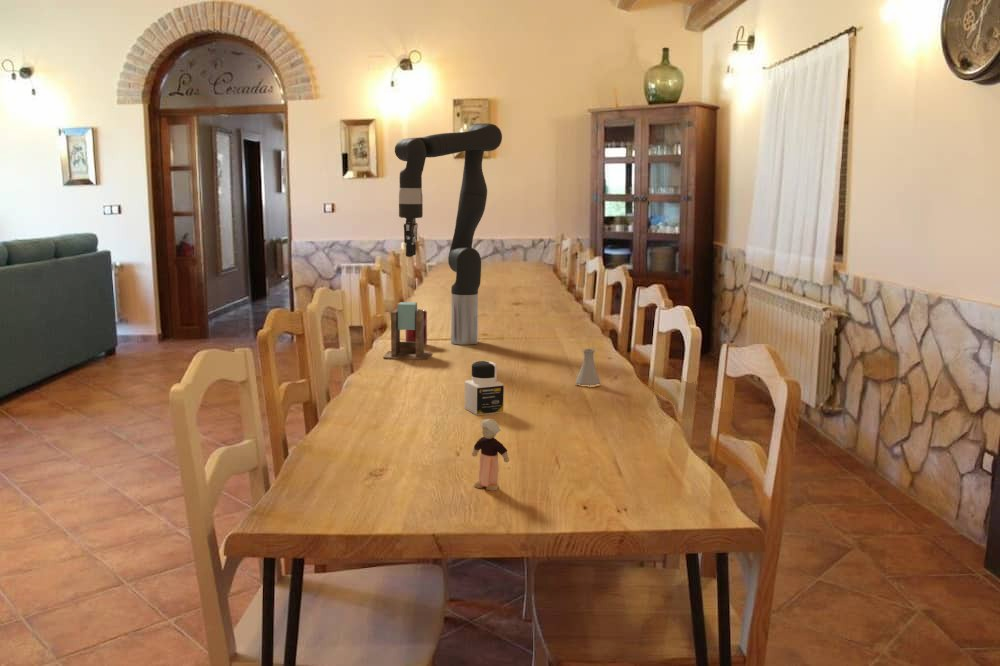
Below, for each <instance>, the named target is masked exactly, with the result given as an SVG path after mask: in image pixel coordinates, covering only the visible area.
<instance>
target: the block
mask: <svg viewBox="0 0 1000 666" xmlns="http://www.w3.org/2000/svg"><path fill="white" fill-rule="evenodd" d="M397 309H398V330H400V331H406V330H415V329H416V312H417V309H418V302H415V301H414V302H411V301H410V302H409V301H408V302H407V301H406V302H405V301H401V302H398V303H397Z"/></svg>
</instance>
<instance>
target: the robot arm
mask: <svg viewBox="0 0 1000 666" xmlns="http://www.w3.org/2000/svg"><path fill="white" fill-rule="evenodd" d="M502 141H503V133H502V131H501V129H500V128H499V127H498V126H497V125H495V124H493V123H486V122H485V123H484V122H483V123H482V122H481V123H473V124H472V125H470V126H469V127H468V129H467V131H461V132H460V131H459V132H443V133H437V134H436V133H435V134H430V135H426V136H422V137H421V136H420V137H411V138H409V137H408V138H402V139H400V140H399V141H398V142H396V145H395V146H394V154H395V156H396V157H397V159H398V160H400V161H403V162H406V163H405V165H406V166H405V167H404V168H403V169H402V170H400V172H399V189H398V192H399V193H398V216H399V217H398V218H401V219H402V218H403V219H405V223H403V233H404V234H403V236H404V238H403V239H404V240H403V242H404V245H405V256H406V257H407V258H409V257H410V258H412V257H414V256H416V255H417V253H416V251H417V250H416V249H417V246H416V245H417V241H418V228H419V224H418V222H417V220H416V219H420V218H421V219H422V218H423V209H424V208H423V205H424V204H423V202H424V200H423V189H422V187H423V185H422V184H423V180H422V179H423V177H422V176H423V172H424V168H425V163H426V159H427V158H437V157H442V156H448V155H453V154H458V153H463V152H464V163H463V164H464V165H463V171H462V172H463V173H462V180H461V186H460V192H459V198H458V204H457V205H458V206H457V212H456V218H455V219H456V221H455V227H454V233H453V238H452V241H451V244H450V249H449V251H448V257H447V262H448V265H449V267H450V269H451V270H452V271H453V272H455V273H456V274H455V281H454V283H453V284H452V285H451V287H450V288H451V290H450V291H451V292H450V293H451V294H450V297H451V299H450V304H451V306H450V307H451V308H450V341H451V342H450V343H451V344H455V345H460V346H461V345H462V346H463V345H465V346H467V345H477V344H478V342H479V313H478V312H479V310H478V309H479V288H480V286H481V280H482V279H481V276H482V259H481V258H482V257H481V255H480V252H478V250H476V248H473V241H474V237H475V235H474V234H475V232H476V230H477V228H478V226H479V224H480V222H481V219H482V218H483V215H484V213H485V209H486V204H487V199H488V198H487V196H488V186H487V183H486V180H485V176H484V172H483V158H484V152H492V151H495V150H497V149H498V148H499V147H500V146H501V144H502Z"/></svg>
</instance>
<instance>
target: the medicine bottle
mask: <svg viewBox="0 0 1000 666" xmlns="http://www.w3.org/2000/svg"><path fill="white" fill-rule="evenodd" d="M497 378H498V365H497V363H495V362H493V361H489V360H488V361H487V360H480V361H475V362H473V363H472V364H471V379H469V380H465V381H464V409H465V410H466V411H468V412H469V413H472V414H473V415H475V416H477V417H478V416H485V415H487V416H488V415H495V414H502V413H503V412H504V390H505V389H504V387H505V385H504V383H502V382H500V381H497V380H498V379H497Z"/></svg>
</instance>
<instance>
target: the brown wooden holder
mask: <svg viewBox="0 0 1000 666" xmlns="http://www.w3.org/2000/svg"><path fill="white" fill-rule="evenodd" d="M418 309H419V310H418V311H417V312H416V342H406V341H401V330H398V308H394V309H393V310H392V311H391V312H390V342H391V343H390V350H387V352H386V353H385V354H384V355H383V357H382V359H383V358H396V359H395V360H412V359H419V360H420V361H423V360H424V361H428V360H429V359H428V358H430V357H431V355H432V351H425V346H424V310H425V309H424V308H423V309H422V308H418ZM397 358H398V359H397ZM427 359H428V360H427ZM419 360H418V361H419Z"/></svg>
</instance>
